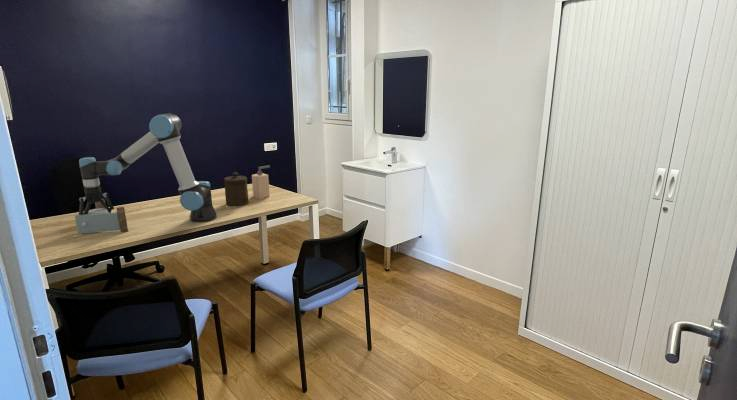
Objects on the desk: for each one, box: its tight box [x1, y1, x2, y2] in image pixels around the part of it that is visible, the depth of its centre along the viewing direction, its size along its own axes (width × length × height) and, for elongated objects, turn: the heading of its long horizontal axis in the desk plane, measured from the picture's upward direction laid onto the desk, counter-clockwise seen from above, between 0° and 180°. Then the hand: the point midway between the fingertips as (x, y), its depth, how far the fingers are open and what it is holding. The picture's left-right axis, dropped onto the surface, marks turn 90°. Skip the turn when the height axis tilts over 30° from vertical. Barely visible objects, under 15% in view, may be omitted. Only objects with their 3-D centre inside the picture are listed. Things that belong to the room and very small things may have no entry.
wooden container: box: [223, 171, 250, 207], centre depth 274 cm, size 15×15×22 cm
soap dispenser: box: [251, 165, 271, 200], centre depth 293 cm, size 13×9×22 cm
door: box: [74, 211, 120, 234], centre depth 219 cm, size 22×3×10 cm, turn 106°
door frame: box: [94, 198, 129, 234], centre depth 231 cm, size 36×3×14 cm, turn 52°
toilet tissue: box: [88, 208, 108, 214], centre depth 224 cm, size 9×13×9 cm
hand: (99, 224), depth 226 cm, fingers closed on toilet tissue, 9 cm apart
